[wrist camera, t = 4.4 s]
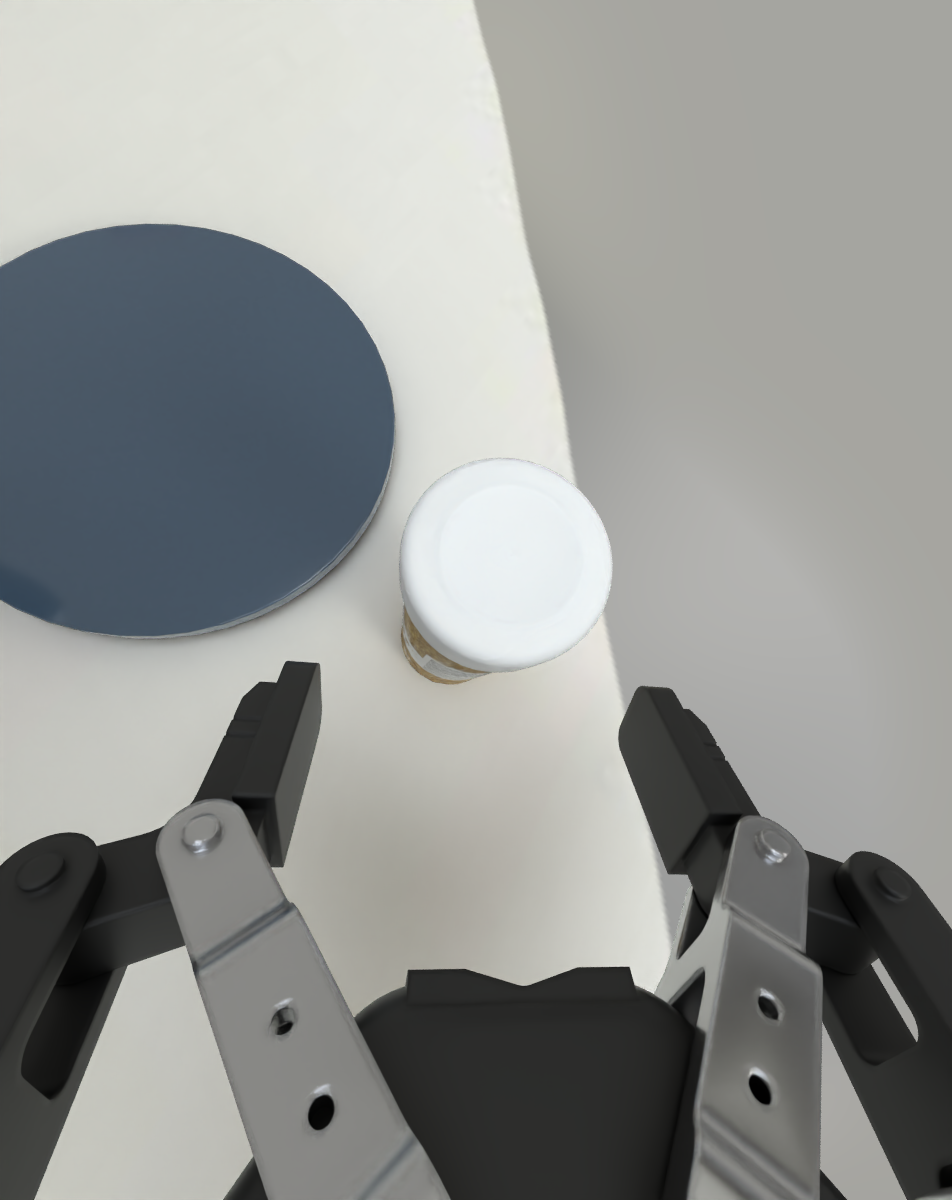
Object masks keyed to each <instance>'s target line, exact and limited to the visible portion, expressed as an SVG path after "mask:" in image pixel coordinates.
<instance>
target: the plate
mask: <svg viewBox="0 0 952 1200" xmlns="http://www.w3.org/2000/svg"><path fill="white" fill-rule="evenodd" d="M394 443H395V414H394V406H393V397H392V391H391V387H390V383H389V380H388V376H387V372H386V368H385V366H384V364H383V361H382V359H381V357H380V354H379V352H378V349H377V347H376V345H375V343H374V342H373V340H372V338H371V337H370V335H369V333H368V332H367V330H366V328H365V327H364V325H363V323H362V322H361V321H360V320H359V318H358V317H357V316H356V314H355V313H354V312H353V311H352V309H351V308H350V307H349V306H348V304H347V303H346V302H345V301H344V300H343V299H342V298H341V297H340V296H339V295H338V294H337V293H336V292H335V291H334V290H333V289H332V288H331V287H330V286H329V285H327V284H326V283H325V282H323V281H322V280H321V279H320V278H318V277H317V276H316V275H314V274H313V273H312V272H311V271H309V270H308V269H306V268H305V267H303V266H301V265H300V264H298V263H296V262H295V261H293V260H291V259H290V258H288V257H287V256H285V255H283V254H281V253H279V252H276V251H274V250H272V249H270V248H268V247H266V246H263V245H261V244H259V243H256V242H253V241H250V240H247V239H244V238H241V237H238V236H236V235H232V234H228V233H224V232H219V231H215V230H211V229H206V228H200V227H192V226H184V225H175V224H137V225H124V226H114V227H108V228H103V229H97V230H91V231H86V232H82V233H79V234H76V235H72V236H69V237H65V238H62V239H58V240H55V241H53V242H50V243H48V244H46V245H43V246H41V247H38V248H36V249H33V250H31V251H28V252H27V253H25V254H23V255H21V256H19V257H17V258H16V259H14V260H12V261H10V262H8V263H6V264H4V265H3V266H1V267H0V600H1V601H3V602H5V603H7V604H8V605H10V606H12V607H14V608H15V609H17V610H20V611H22V612H24V613H27V614H29V615H32V616H34V617H37V618H39V619H42V620H44V621H47V622H49V623H53V624H57V625H61V626H64V627H68V628H72V629H76V630H80V631H84V632H88V633H93V634H99V635H107V636H114V637H122V638H137V639H165V638H174V637H184V636H193V635H199V634H204V633H208V632H212V631H216V630H221V629H225V628H229V627H232V626H235V625H238V624H240V623H243V622H246V621H249V620H252V619H254V618H257V617H260V616H262V615H264V614H266V613H268V612H270V611H272V610H274V609H276V608H278V607H280V606H282V605H284V604H286V603H288V602H289V601H291V600H292V599H294V598H295V597H297V596H298V595H300V594H301V593H303V592H304V591H306V590H307V589H309V588H310V587H312V586H313V585H315V584H316V583H317V582H318V581H319V580H320V579H322V578H323V577H324V576H325V575H326V574H327V573H329V572H330V571H331V570H332V569H333V568H334V567H336V566H337V564H338V563H339V562H340V561H341V560H342V559H343V558H344V557H345V555H346V554H347V553H348V552H349V551H350V550H351V549H352V548H353V547H354V545H355V544H356V543H357V541H358V540H359V538H360V537H361V535H362V534H363V532H364V531H365V529H366V528H367V526H368V525H369V523H370V522H371V520H372V518H373V516H374V514H375V512H376V510H377V508H378V506H379V504H380V502H381V500H382V497H383V494H384V491H385V488H386V485H387V482H388V479H389V476H390V472H391V466H392V460H393V454H394Z"/></svg>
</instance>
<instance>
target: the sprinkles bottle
mask: <svg viewBox="0 0 952 1200" xmlns="http://www.w3.org/2000/svg"><path fill="white" fill-rule="evenodd" d="M399 572H400V588H401V593H402V598H403V602H404V605H403V625H402V630H401V639H402V647H403V651H404V654H405V656H406V658H407V659H408V661H409V663H410V664H411V666H412V667H413V668H414V669H415V670H416V671H417V672H418V673H420V674H421V675H423V676H424V677H426V678H428V679H429V680H431V681H433V682H437V683H444V684H459V683H462V682H466V681H468V680H471V679H472V678H475V677H479V676H482V675H486V674H489V673H492V672H511V671H516V670H521V669H525V668H529V667H532V666H535V665H538V664H541V663H544V662H546V661H549V660H552V659H554V658H556V657H558V656H560V655H561V654H563V653H565V652H567V651H568V650H570V649H571V648H572V647H573V646H575V645H576V644H577V643H578V642H579V641H581V640H582V639H583V638H584V637H585V636H586V635H587V634H588V633H589V631H590V630H591V629H592V628H593V626H594V625H595V624H596V622H597V620H598V618H599V617H600V615H601V613H602V611H603V610H604V607H605V605H606V602H607V599H608V596H609V593H610V587H611V580H612V555H611V548H610V543H609V539H608V536H607V533H606V530H605V527H604V525H603V523H602V521H601V519H600V517H599V515H598V514H597V512H596V511H595V509H594V507H593V506H592V504H591V503H590V502H589V500H588V499H587V498H586V497H585V496H584V495H583V494H582V492H581V491H580V490H579V489H578V488H577V487H576V486H574V485H573V484H572V483H570V482H569V481H568V480H566V479H565V478H564V477H563V476H561V475H559V474H558V473H556V472H554V471H552V470H550V469H548V468H546V467H544V466H541V465H538V464H535V463H532V462H529V461H524V460H520V459H511V458H491V459H483V460H479V461H473V462H470V463H468V464H466V465H463V466H460V467H458V468H456V469H454V470H452V471H450V472H449V473H447V474H445V475H444V476H442V477H441V478H440V479H438V480H437V481H436V482H435V483H433V484H432V485H431V486H430V487H429V488H428V489H427V490H426V491H425V492H424V494H423V495H422V496H421V497H420V499H419V500H418V502H417V503H416V505H415V506H414V507H413V509H412V511H411V513H410V515H409V518H408V520H407V523H406V526H405V529H404V532H403V536H402V541H401V549H400V560H399Z"/></svg>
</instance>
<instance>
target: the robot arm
mask: <svg viewBox="0 0 952 1200" xmlns="http://www.w3.org/2000/svg"><path fill="white" fill-rule="evenodd" d="M321 715H322V701H321V673H320V664H319V663H309V662H295V661H286V662H285V664H284V666H283V669H282V671H281V673H280V676H279V678H278V681H277V683H274V682H259V683H258V684H257V685H256V686H254V687H253V688H252V689H251V690H250V691H249V692H248V693H247V694H246V695H245V696H244V697H243V698H242V700H241V702H240V704H239V706H238V708H237V710H236V712H235V715H234V719H233V720H232V721H231V723H230V725H229V727H228V729H227V733H226V736H224V738H223V740H222V742H221V744H220V746H219V748H218V751H217V753H216V755H215V757H214V759H213V761H212V763H211V765H210V768H209V770H208V772H207V774H206V776H205V778H204V780H203V782H202V784H201V787H200V789H199V791H198V793H197V795H196V797H195V798H194V800H193V801H192V803H191V804H190V805H189V806H187V807H185V808H184V809H182V810H181V811H179V812H178V813H176V814H175V815H174V816H173V817H172V818H171V819H170V820H169V821H168V822H167V823H166V824H165V826H163V827H161V828H159V829H156V830H154V831H152V832H149V833H146V834H142V835H139V836H135V837H131V838H127V839H123V840H119V841H115V842H111V843H107V844H103V845H99V846H96V844H95V843H94V841H93V840H92V839H90V838H89V837H88V836H85V835H83V834H79V833H70V832H68V833H59V834H54V835H50V836H47V837H44V838H41V839H39V840H37V841H35V842H32V843H30V844H29V845H27V846H25V847H23V848H22V849H20V850H19V851H17V852H16V853H14V854H13V855H12V856H11V857H9V858H8V859H7V860H6V861H5V862H4V863H3V864H2V865H1V866H0V1200H34V1199H35V1196H36V1194H37V1191H38V1189H39V1186H40V1184H41V1181H42V1179H43V1176H44V1174H45V1171H46V1169H47V1166H48V1164H49V1161H50V1159H51V1156H52V1154H53V1151H54V1149H55V1146H56V1144H57V1141H58V1139H59V1136H60V1134H61V1131H62V1129H63V1126H64V1124H65V1121H66V1119H67V1116H68V1113H69V1111H70V1108H71V1106H72V1103H73V1101H74V1098H75V1096H76V1093H77V1091H78V1088H79V1086H80V1083H81V1081H82V1078H83V1076H84V1073H85V1071H86V1068H87V1066H88V1063H89V1061H90V1058H91V1056H92V1053H93V1051H94V1048H95V1046H96V1043H97V1041H98V1038H99V1036H100V1033H101V1031H102V1028H103V1026H104V1023H105V1021H106V1018H107V1016H108V1013H109V1011H110V1008H111V1006H112V1003H113V1001H114V998H115V996H116V993H117V991H118V988H119V986H120V983H121V981H122V978H123V976H124V973H125V971H126V968H127V966H128V965H130V964H133V963H135V962H138V961H141V960H144V959H147V958H150V957H153V956H156V955H159V954H162V953H164V952H167V951H170V950H173V949H176V948H179V947H182V946H185V945H186V948H187V951H188V954H189V957H190V960H191V963H192V967H193V972H194V975H195V978H196V981H197V984H198V988H199V991H200V994H201V997H202V1000H203V1003H204V1006H205V1009H206V1012H207V1015H208V1018H209V1021H210V1024H211V1027H212V1030H213V1033H214V1036H215V1039H216V1042H217V1046H218V1049H219V1052H220V1055H221V1058H222V1061H223V1064H224V1067H225V1070H226V1073H227V1076H228V1079H229V1082H230V1085H231V1088H232V1091H233V1094H234V1097H235V1100H236V1103H237V1106H238V1110H239V1113H240V1116H241V1119H242V1122H243V1125H244V1128H245V1131H246V1134H247V1137H248V1140H249V1143H250V1146H251V1149H252V1152H253V1155H254V1156H253V1158H252V1159H251V1161H250V1162H249V1163H248V1165H247V1166H246V1168H245V1169H244V1171H243V1172H242V1173H241V1175H240V1176H239V1178H238V1179H237V1181H236V1182H235V1184H234V1185H233V1186H232V1188H231V1189H230V1191H229V1192H228V1194H227V1195H226V1196H225V1198H224V1199H223V1200H847V1199H846V1198H845V1197H844V1196H843V1195H842V1193H841V1192H840V1191H839V1190H838V1189H837V1188H836V1187H835V1186H834V1184H833V1183H832V1182H831V1181H830V1180H829V1179H828V1178H827V1177H826V1176H825V1174H824V1173H823V1172H822V1171H821V1170H820V1129H821V1063H822V1061H821V1060H822V1058H821V1057H822V1022H823V1024H824V1026H825V1028H826V1030H827V1032H828V1034H829V1036H830V1038H831V1041H832V1043H833V1045H834V1047H835V1049H836V1051H837V1053H838V1055H839V1057H840V1059H841V1062H842V1064H843V1066H844V1068H845V1070H846V1072H847V1074H848V1076H849V1079H850V1081H851V1083H852V1085H853V1087H854V1089H855V1091H856V1093H857V1095H858V1097H859V1100H860V1102H861V1104H862V1106H863V1108H864V1110H865V1112H866V1114H867V1117H868V1119H869V1121H870V1123H871V1125H872V1127H873V1129H874V1131H875V1133H876V1135H877V1138H878V1140H879V1142H880V1144H881V1146H882V1148H883V1150H884V1152H885V1154H886V1156H887V1159H888V1161H889V1163H890V1165H891V1167H892V1169H893V1171H894V1173H895V1175H896V1178H897V1180H898V1182H899V1184H900V1186H901V1188H902V1190H903V1192H904V1194H905V1196H906V1199H907V1200H952V929H951V928H950V926H949V925H948V924H947V923H946V921H945V920H944V918H943V917H942V916H941V914H940V913H939V911H938V910H937V909H936V908H935V906H934V905H933V903H932V902H931V901H930V899H929V898H928V897H927V895H926V894H925V893H924V891H923V890H922V889H921V888H920V886H919V885H918V884H917V883H916V881H915V880H914V879H913V878H912V877H911V876H910V875H909V874H908V873H906V872H905V871H904V870H903V869H902V868H900V867H899V866H898V865H896V864H895V863H893V862H892V861H890V860H888V859H886V858H884V857H882V856H880V855H878V854H875V853H872V852H866V851H860V852H856V853H854V854H853V855H852V856H851V857H849V858H848V860H846V861H845V862H844V863H842V862H839V861H836V860H833V859H830V858H827V857H824V856H821V855H818V854H815V853H812V852H809V851H806V850H804V849H803V848H802V846H801V845H800V844H799V842H798V841H797V839H796V838H795V837H794V836H793V835H792V834H791V833H790V832H788V831H787V830H786V829H784V828H783V827H782V826H780V825H779V824H777V823H776V822H774V821H772V820H770V819H768V818H765V817H761V816H760V814H759V812H758V811H757V809H756V807H755V806H754V804H753V803H752V801H751V799H750V797H749V796H748V794H747V793H746V791H745V789H744V787H743V786H742V784H741V783H740V781H739V779H738V778H737V776H736V774H735V773H734V771H733V770H732V768H731V766H730V765H729V763H728V761H725V756H724V754H723V753H722V751H721V749H720V748H719V746H717V745H716V741H715V739H714V738H713V736H712V734H711V733H710V731H709V729H708V728H707V726H706V725H705V724H704V723H703V722H702V721H701V720H700V719H699V718H698V717H697V716H696V715H695V714H694V713H693V712H692V711H691V710H689V709H683V707H682V705H681V704H680V702H679V700H678V698H677V697H676V695H675V693H674V692H673V690H671V689H670V688H663V687H648V686H640V687H638V688H637V690H636V691H635V693H634V696H633V698H632V700H631V703H630V705H629V707H628V709H627V712H626V714H625V716H624V718H623V721H622V723H621V725H620V729H619V736H618V740H619V747H620V751H621V754H622V756H623V759H624V761H625V764H626V766H627V769H628V772H629V774H630V777H631V779H632V782H633V785H634V787H635V790H636V792H637V795H638V798H639V800H640V803H641V805H642V808H643V810H644V813H645V816H646V818H647V821H648V823H649V826H650V829H651V831H652V834H653V836H654V839H655V841H656V844H657V847H658V849H659V852H660V854H661V857H662V860H663V862H664V865H665V867H666V870H667V873H668V874H686V875H688V877H689V879H690V882H691V884H692V885H691V886H690V888H689V889H688V891H687V893H686V897H685V901H684V904H683V908H682V912H681V916H680V919H679V923H678V927H677V931H676V934H675V938H674V942H673V945H672V949H671V953H670V957H669V960H668V964H667V967H666V969H665V972H664V974H663V976H662V978H661V980H660V982H659V984H658V986H657V988H656V991H655V993H654V994H653V993H651V992H649V991H647V990H644V989H642V988H640V987H638V986H635V985H634V982H633V978H632V974H631V971H630V967H577V968H575V969H572V970H569V971H567V972H564V973H561V974H558V975H556V976H553V977H550V978H548V979H545V980H542V981H539V982H537V983H534V984H531V985H528V986H520V985H516V984H513V983H509V982H506V981H503V980H499V979H496V978H493V977H490V976H486V975H483V974H480V973H476V972H473V971H470V970H466V969H434V970H408V973H407V979H406V985H405V987H402V988H400V989H397V990H394V991H392V992H390V993H388V994H386V995H384V996H382V997H380V998H378V999H377V1000H375V1001H374V1002H372V1003H371V1004H370V1005H368V1006H367V1007H365V1008H364V1009H363V1010H362V1011H361V1012H360V1013H359V1014H357V1015H356V1016H355V1017H354V1018H353V1016H352V1014H351V1012H350V1010H349V1008H348V1006H347V1004H346V1002H345V1000H344V998H343V996H342V994H341V992H340V990H339V988H338V986H337V984H336V982H335V980H334V978H333V976H332V974H331V972H330V970H329V968H328V966H327V964H326V962H325V960H324V958H323V956H322V954H321V952H320V950H319V948H318V946H317V944H316V942H315V940H314V938H313V936H312V934H311V932H310V930H309V928H308V926H307V924H306V923H305V921H304V919H303V917H302V915H301V913H300V912H299V910H298V908H297V907H296V906H295V904H294V903H290V902H289V901H288V900H287V898H286V896H285V895H284V893H283V891H282V889H281V887H280V885H279V883H278V881H277V879H276V877H275V875H274V873H273V871H272V869H271V867H283V866H284V863H285V859H286V855H287V851H288V848H289V844H290V840H291V836H292V833H293V829H294V825H295V821H296V817H297V814H298V810H299V806H300V802H301V799H302V795H303V791H304V787H305V784H306V780H307V776H308V772H309V769H310V765H311V761H312V757H313V754H314V750H315V746H316V742H317V738H318V735H319V730H320V724H321ZM878 958H879V959H880V961H881V962H882V964H883V966H884V967H885V969H886V971H887V972H888V974H889V976H890V977H891V979H892V981H893V982H894V984H895V986H896V987H897V989H898V991H899V992H900V994H901V996H902V997H903V999H904V1000H905V1002H906V1004H907V1005H908V1007H909V1009H910V1010H911V1012H912V1014H913V1016H914V1018H915V1021H916V1024H917V1027H918V1035H919V1036H918V1041H917V1042H916V1040H915V1039H914V1037H913V1035H912V1034H911V1032H910V1030H909V1029H908V1027H907V1025H906V1024H905V1022H904V1020H903V1018H902V1017H901V1015H900V1013H899V1012H898V1010H897V1008H896V1006H895V1005H894V1003H893V1001H892V1000H891V998H890V996H889V994H888V993H887V991H886V989H885V988H884V986H883V984H882V983H881V981H880V979H879V977H878V976H877V974H876V972H875V971H874V969H873V967H872V965H871V963H873V962H874V961H875V960H877V959H878Z"/></svg>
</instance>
